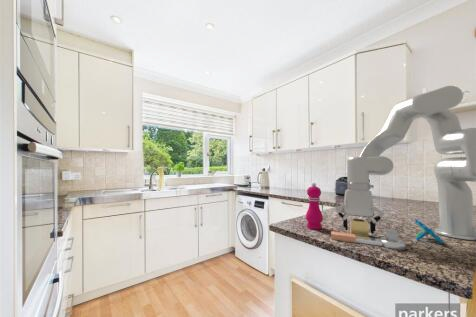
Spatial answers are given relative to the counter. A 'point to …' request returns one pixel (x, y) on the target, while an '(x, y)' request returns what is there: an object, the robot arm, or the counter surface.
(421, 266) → the counter surface
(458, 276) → the counter surface
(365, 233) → the olive open-top box
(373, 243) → the ratchet
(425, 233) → the teal branched frame
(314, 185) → the pepper mill
